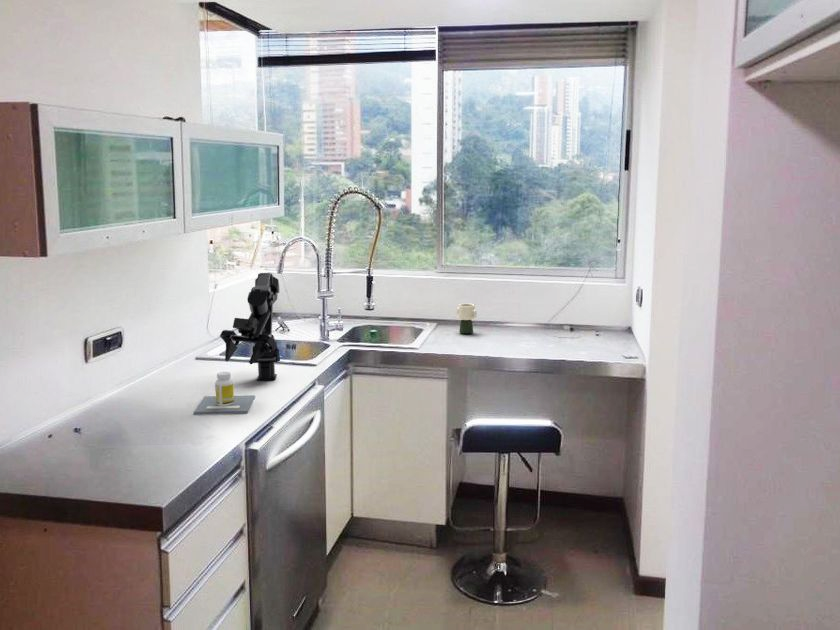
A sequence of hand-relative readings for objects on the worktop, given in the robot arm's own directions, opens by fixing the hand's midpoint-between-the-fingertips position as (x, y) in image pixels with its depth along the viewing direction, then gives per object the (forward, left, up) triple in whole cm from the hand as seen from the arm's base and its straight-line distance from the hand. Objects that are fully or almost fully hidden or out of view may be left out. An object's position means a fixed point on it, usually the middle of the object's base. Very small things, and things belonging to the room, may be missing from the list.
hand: (238, 362), depth 244 cm
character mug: (-93, +86, -13) cm, 127 cm away
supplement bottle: (+7, -3, -12) cm, 14 cm away
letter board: (+6, -3, -12) cm, 14 cm away
